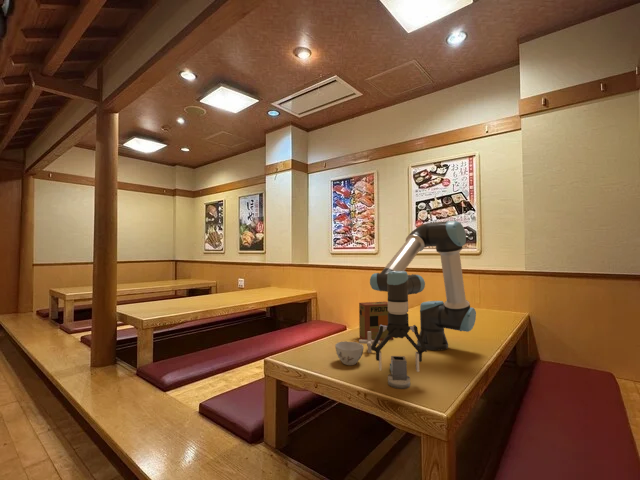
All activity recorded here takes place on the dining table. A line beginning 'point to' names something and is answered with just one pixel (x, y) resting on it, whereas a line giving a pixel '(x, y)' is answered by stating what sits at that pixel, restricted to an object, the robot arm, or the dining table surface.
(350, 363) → the teacup
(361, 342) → the pipe connector
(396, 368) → the square hollow tube
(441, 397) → the dining table surface
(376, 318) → the box
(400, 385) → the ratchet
